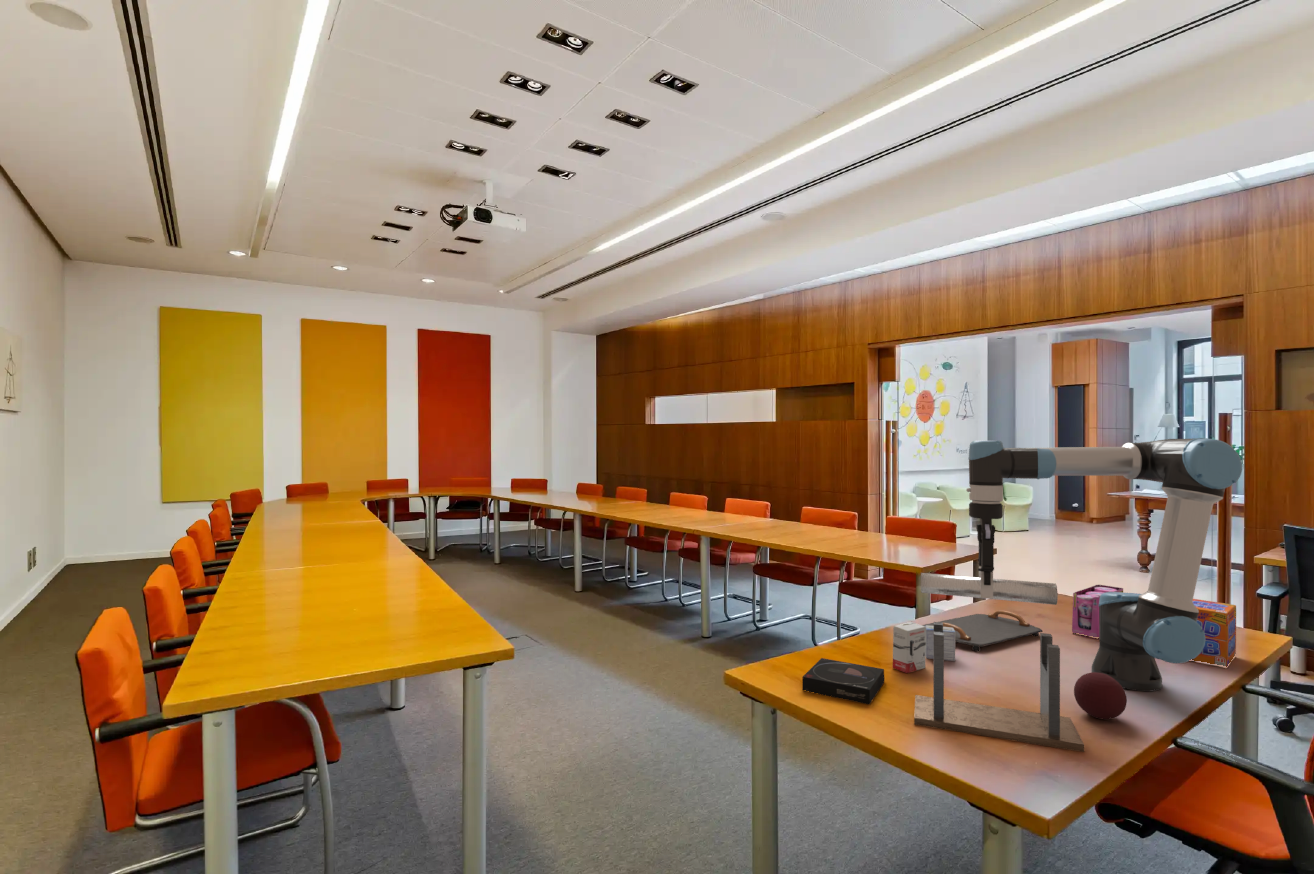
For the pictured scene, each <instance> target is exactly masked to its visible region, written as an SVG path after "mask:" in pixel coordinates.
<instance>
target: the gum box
mask: <svg viewBox="0 0 1314 874" xmlns="http://www.w3.org/2000/svg"><path fill="white" fill-rule="evenodd" d="M1106 592H1123V593H1124V588H1123V587H1118V586H1111V585H1105V584H1095V585H1092V586H1090V587H1087V588H1083V589H1080V590H1077V591H1074V592H1073V593H1072V600H1073V601H1072V620H1071V622H1072V623H1071V633H1072V632H1073V633H1079V634H1084V635H1087V636H1093V637H1099V607H1098V605H1099V600H1100V595H1101V594H1102V593H1106Z"/></svg>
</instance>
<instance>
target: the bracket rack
mask: <svg viewBox="0 0 1314 874" xmlns="http://www.w3.org/2000/svg"><path fill="white" fill-rule="evenodd" d="M933 623H934V659H933V673H932V674H933V677H932V678H933V684H932V685H933V692H932V693H933V694H932V695H933V696H926V695H919V694H915V696H914V715H913V723H914V725H915V726H923V727H928V728H935V729H941V730H947V731H951V732H959V733H965V734H971V735H978V736H983V737H988V738H989V737H990V738H994V739H995V738H996V739H1002V740H1008V741H1014V742H1019V743H1020V742H1021V743H1027V744H1032V745H1039V746H1045V747H1051V748H1056V749H1063V750H1068V751H1069V750H1070V751H1074V752H1075V751H1076V752H1082V753H1084V752H1085V743H1084V741H1083V740H1082V737H1081V735H1080V734H1079V732H1078V730H1077V728H1076V726H1075V724H1074V722H1073V720H1072V718H1071V717H1069V716H1061V648H1060V646H1059V644H1053V635H1052V634H1051V633H1046V632H1045V633H1044V632H1039V636H1040V637H1039V639H1040V640H1039V642H1040V643H1039V645H1040V647H1039V650H1040V651H1039V652H1040V655H1039V656H1040V657H1039V661H1040V662H1039V666H1040V668H1039V669H1040V670H1039V671H1040V672H1039V676H1040V677H1039V679H1040V680H1039V682H1040V687H1039V688H1040V689H1039V691H1040V692H1039V697H1040V698H1039V701H1040V702H1039V709H1040V710H1039V712H1035V711H1028V710H1020V709H1014V708H1007V707H1001V706H994V705H987V704H979V703H973V702H967V701H960V700H959V701H958V700H953V699H945V697H944V695H945V694H944V693H945V691H944V688H945V687H944V686H945V677H944V675H945V669H944V668H945V660H944V633H943V623H941V622H940V621H933Z"/></svg>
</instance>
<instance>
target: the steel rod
mask: <svg viewBox="0 0 1314 874" xmlns="http://www.w3.org/2000/svg"><path fill="white" fill-rule="evenodd" d="M920 593H922V594H933V595H944V596H954V597H955V596H956V597H966V598H977V599H982V598H981V578H979V576H978V577H976V576H965V575H952V574H950V575H949V574H939V573H926V572H920ZM1058 593H1059V592H1058V586H1057V584H1056V583H1052V582H1041V581H1028V580H1027V581H1026V580H1014V579H1002V578H1001V579H1000V578H993V599H991V598H985V599H988V600H1001V601H1010V602H1021V603H1022V602H1023V603H1032V604H1043V605H1052V606H1053V605H1054V606H1056V605H1057V604H1058V598H1059V596H1058V595H1059V594H1058Z"/></svg>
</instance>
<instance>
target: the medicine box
mask: <svg viewBox="0 0 1314 874" xmlns="http://www.w3.org/2000/svg"><path fill="white" fill-rule="evenodd" d="M943 633H944V661H949V662H950V661H952V662H956V642H955V630H954V628H952V627H943ZM925 659H930V660H931V659H932V660H934V626H929V625H926V657H925Z"/></svg>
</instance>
